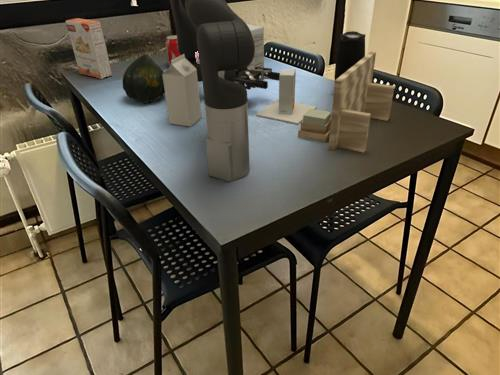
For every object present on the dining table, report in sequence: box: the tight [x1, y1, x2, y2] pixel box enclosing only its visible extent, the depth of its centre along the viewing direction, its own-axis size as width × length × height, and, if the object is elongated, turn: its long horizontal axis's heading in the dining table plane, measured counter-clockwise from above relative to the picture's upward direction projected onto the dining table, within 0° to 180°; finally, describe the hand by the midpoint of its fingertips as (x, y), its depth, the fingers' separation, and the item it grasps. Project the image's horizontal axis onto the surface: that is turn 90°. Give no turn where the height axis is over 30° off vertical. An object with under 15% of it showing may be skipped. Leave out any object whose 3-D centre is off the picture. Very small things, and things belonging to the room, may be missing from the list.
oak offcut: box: [299, 117, 332, 135], centre depth 108 cm, size 6×7×2 cm
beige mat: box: [255, 99, 318, 126], centre depth 124 cm, size 14×14×1 cm
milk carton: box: [162, 54, 202, 127], centre depth 115 cm, size 7×7×19 cm
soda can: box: [165, 34, 181, 67], centre depth 165 cm, size 7×7×12 cm
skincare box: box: [278, 68, 297, 114], centre depth 120 cm, size 6×4×12 cm
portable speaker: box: [334, 30, 366, 81], centre depth 130 cm, size 9×9×20 cm
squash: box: [122, 54, 165, 104], centre depth 134 cm, size 14×15×15 cm
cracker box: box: [65, 17, 113, 79], centre depth 155 cm, size 14×6×21 cm, turn 55°
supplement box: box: [246, 23, 265, 70], centre depth 152 cm, size 13×13×18 cm
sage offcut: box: [303, 109, 332, 126], centre depth 107 cm, size 5×6×2 cm
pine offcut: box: [297, 127, 330, 144], centre depth 109 cm, size 6×8×2 cm
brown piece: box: [328, 51, 396, 154], centre depth 106 cm, size 28×8×18 cm, turn 149°
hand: (274, 81), depth 121 cm, fingers open, 8 cm apart
